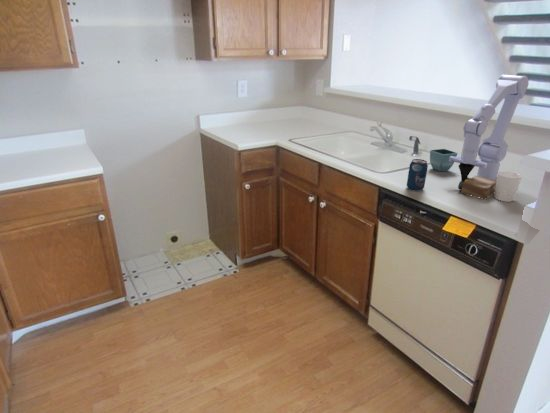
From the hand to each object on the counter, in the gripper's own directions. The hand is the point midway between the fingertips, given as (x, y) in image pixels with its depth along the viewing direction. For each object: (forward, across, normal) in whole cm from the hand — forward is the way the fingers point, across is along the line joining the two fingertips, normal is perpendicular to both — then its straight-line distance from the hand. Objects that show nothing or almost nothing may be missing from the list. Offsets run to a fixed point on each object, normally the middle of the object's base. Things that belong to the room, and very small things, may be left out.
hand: (463, 180), depth 161 cm
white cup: (+2, +17, -3) cm, 17 cm away
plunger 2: (+2, +6, 0) cm, 6 cm away
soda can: (+2, -12, -18) cm, 22 cm away
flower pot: (+2, -16, +15) cm, 22 cm away
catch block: (+2, +8, -3) cm, 9 cm away
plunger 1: (+2, +6, -6) cm, 9 cm away
